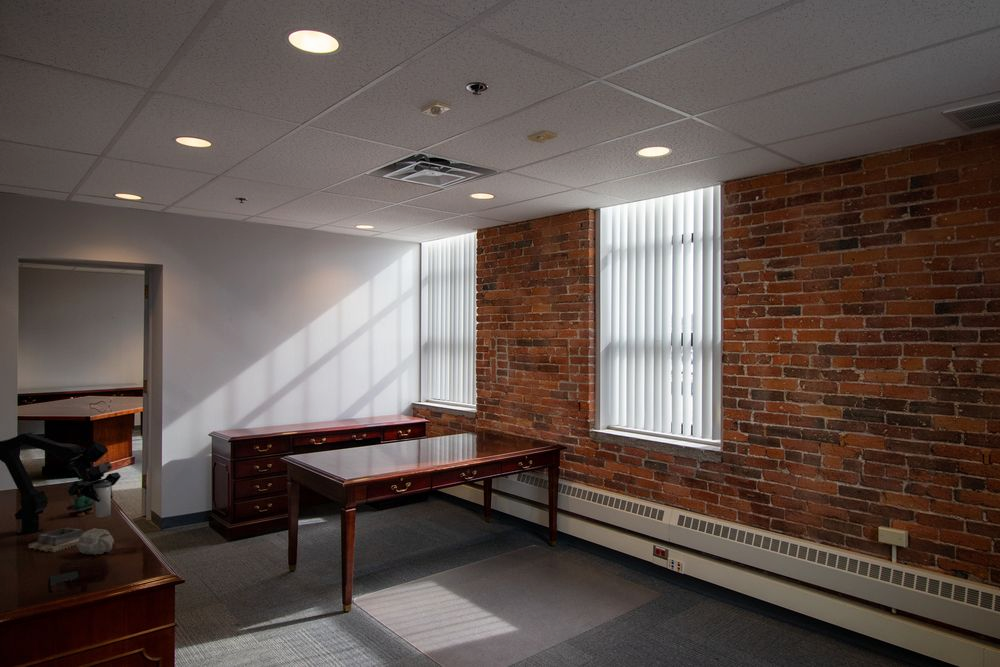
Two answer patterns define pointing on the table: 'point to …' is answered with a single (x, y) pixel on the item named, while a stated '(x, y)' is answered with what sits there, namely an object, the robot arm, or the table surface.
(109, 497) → the tube
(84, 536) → the fossil replica
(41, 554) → the table surface
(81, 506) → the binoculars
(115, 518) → the table surface
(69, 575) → the phone
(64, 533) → the collar
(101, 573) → the table surface
